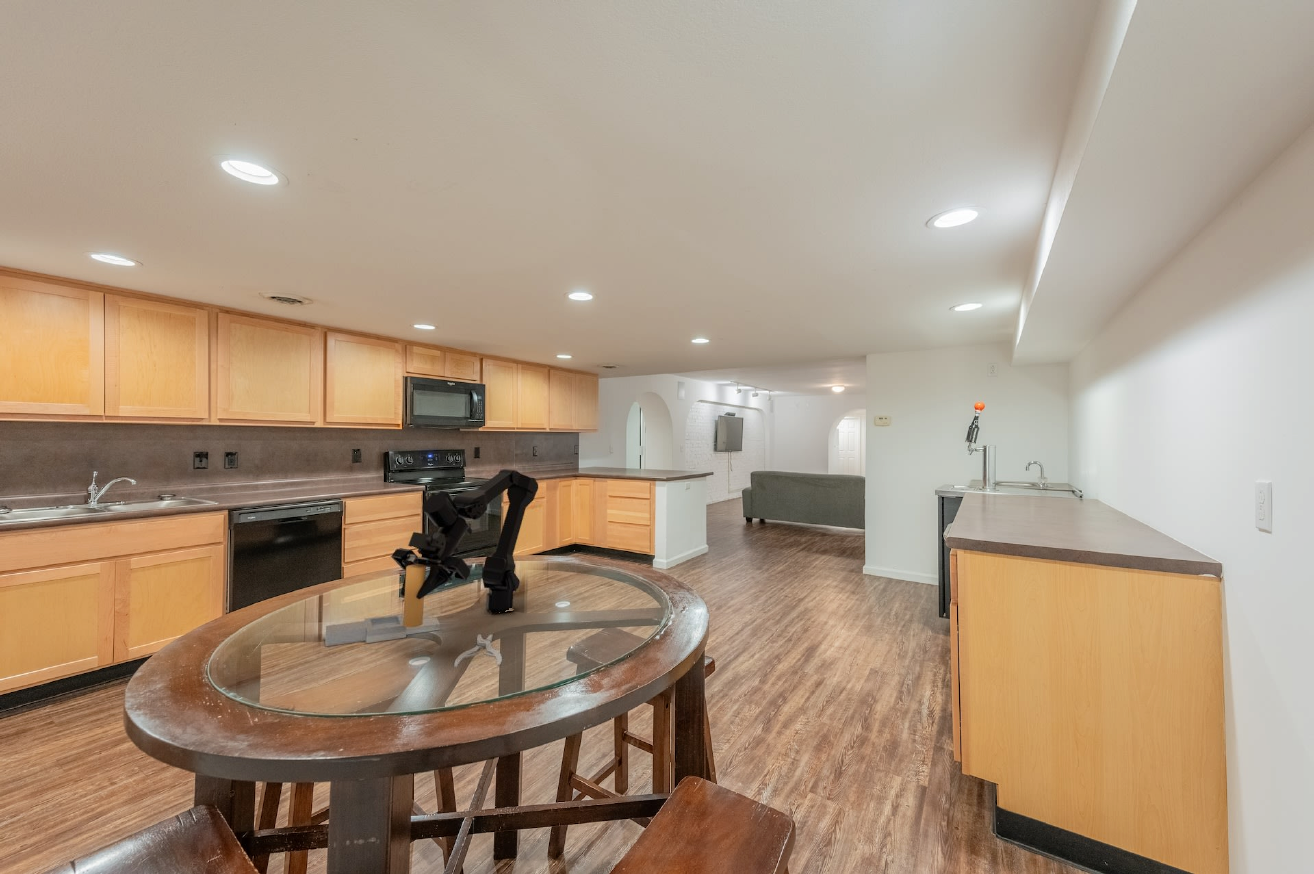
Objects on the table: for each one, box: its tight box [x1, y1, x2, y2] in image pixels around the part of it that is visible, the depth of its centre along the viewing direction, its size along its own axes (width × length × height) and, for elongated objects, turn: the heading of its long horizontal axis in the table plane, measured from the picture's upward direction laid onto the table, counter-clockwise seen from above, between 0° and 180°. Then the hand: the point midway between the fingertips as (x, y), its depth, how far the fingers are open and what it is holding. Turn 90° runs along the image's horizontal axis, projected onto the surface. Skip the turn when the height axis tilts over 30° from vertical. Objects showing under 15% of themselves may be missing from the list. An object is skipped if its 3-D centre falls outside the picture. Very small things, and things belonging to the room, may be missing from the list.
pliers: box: [453, 633, 503, 668], centre depth 119 cm, size 10×2×15 cm
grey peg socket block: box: [324, 613, 441, 647], centre depth 126 cm, size 24×8×3 cm, turn 123°
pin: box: [402, 564, 427, 628], centre depth 115 cm, size 4×4×13 cm
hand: (409, 596), depth 114 cm, fingers closed on pin, 4 cm apart
